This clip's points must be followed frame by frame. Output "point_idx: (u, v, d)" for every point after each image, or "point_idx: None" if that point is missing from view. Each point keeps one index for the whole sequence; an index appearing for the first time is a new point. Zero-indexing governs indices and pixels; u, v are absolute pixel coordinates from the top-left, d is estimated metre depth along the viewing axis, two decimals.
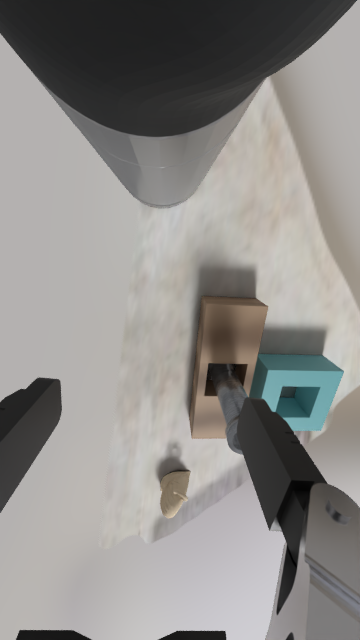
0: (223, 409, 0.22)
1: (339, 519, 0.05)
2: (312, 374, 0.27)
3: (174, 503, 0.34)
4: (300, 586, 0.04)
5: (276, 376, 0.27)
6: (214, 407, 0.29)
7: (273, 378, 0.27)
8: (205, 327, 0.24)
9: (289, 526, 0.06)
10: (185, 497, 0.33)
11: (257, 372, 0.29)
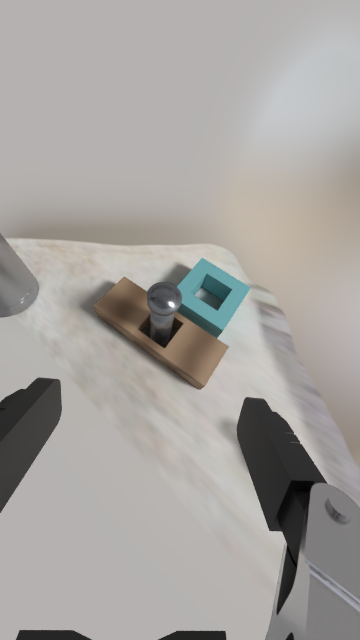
0: (154, 318, 0.27)
1: (339, 519, 0.05)
2: (191, 273, 0.36)
3: None
4: (300, 586, 0.04)
5: None
6: (180, 347, 0.31)
7: None
8: (108, 315, 0.32)
9: (289, 526, 0.06)
10: None
11: (178, 309, 0.36)
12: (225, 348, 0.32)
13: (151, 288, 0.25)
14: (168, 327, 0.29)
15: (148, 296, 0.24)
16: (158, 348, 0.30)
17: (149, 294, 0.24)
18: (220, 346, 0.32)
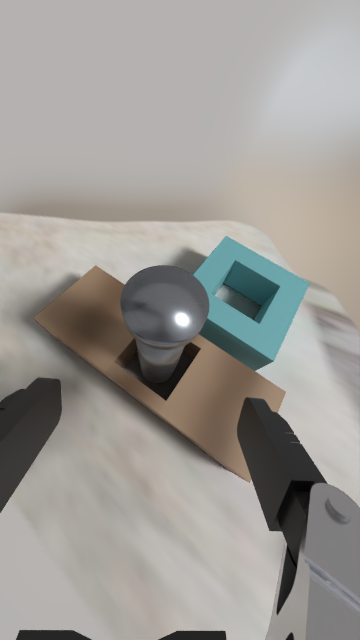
0: (143, 348, 0.12)
1: (339, 519, 0.05)
2: (211, 260, 0.22)
3: None
4: (300, 586, 0.04)
5: None
6: (197, 397, 0.16)
7: None
8: (59, 335, 0.17)
9: (289, 526, 0.06)
10: None
11: None
12: (280, 396, 0.17)
13: (133, 280, 0.10)
14: (174, 362, 0.14)
15: (124, 300, 0.09)
16: (154, 400, 0.16)
17: (127, 295, 0.10)
18: (271, 391, 0.17)
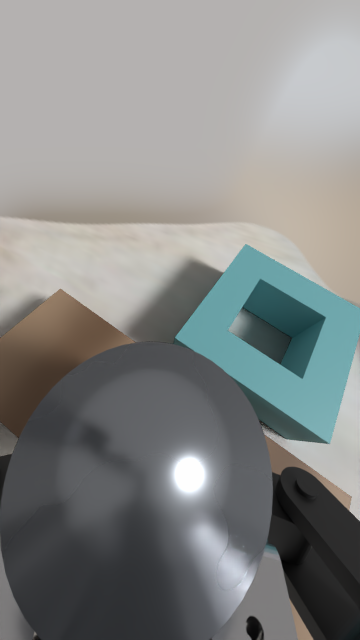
0: None
1: None
2: (226, 279, 0.15)
3: None
4: None
5: (198, 331, 0.13)
6: None
7: (198, 337, 0.13)
8: None
9: None
10: None
11: None
12: (344, 505, 0.11)
13: (57, 397, 0.04)
14: None
15: (18, 478, 0.03)
16: None
17: (31, 456, 0.03)
18: None
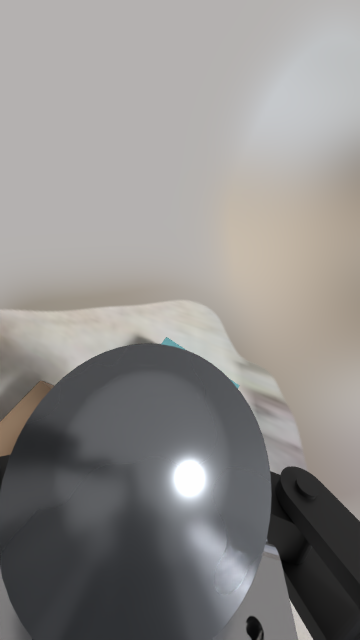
0: None
1: None
2: None
3: None
4: None
5: None
6: None
7: None
8: None
9: None
10: None
11: None
12: None
13: (55, 399, 0.04)
14: None
15: (15, 482, 0.03)
16: None
17: (28, 459, 0.03)
18: None
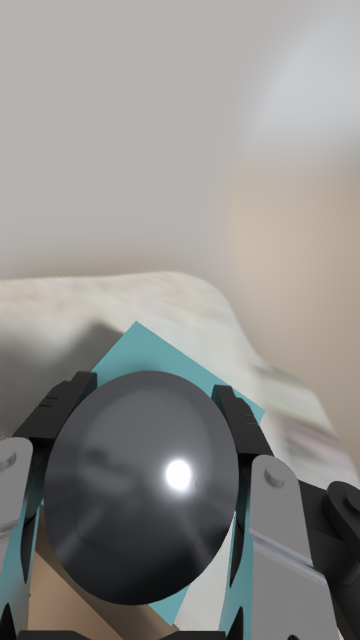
0: None
1: (272, 483, 0.06)
2: (97, 374, 0.13)
3: None
4: (246, 559, 0.04)
5: None
6: None
7: None
8: None
9: (238, 495, 0.06)
10: None
11: None
12: None
13: (79, 415, 0.05)
14: None
15: (54, 476, 0.04)
16: None
17: (62, 460, 0.04)
18: None
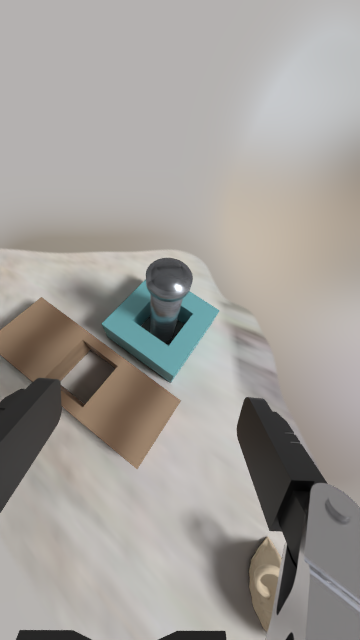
0: (155, 306, 0.21)
1: (339, 519, 0.05)
2: (138, 291, 0.27)
3: None
4: (300, 586, 0.04)
5: (115, 320, 0.24)
6: (107, 404, 0.21)
7: (114, 323, 0.24)
8: (5, 356, 0.22)
9: (289, 526, 0.06)
10: (269, 567, 0.16)
11: (118, 341, 0.26)
12: (175, 403, 0.22)
13: (151, 265, 0.19)
14: (173, 319, 0.23)
15: (148, 275, 0.18)
16: (73, 407, 0.21)
17: (149, 273, 0.18)
18: (169, 400, 0.22)
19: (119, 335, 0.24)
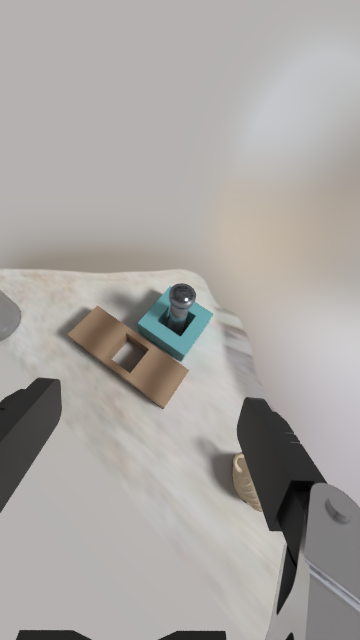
0: (173, 311, 0.34)
1: (339, 519, 0.05)
2: (159, 301, 0.40)
3: (248, 478, 0.29)
4: (300, 586, 0.04)
5: (146, 320, 0.38)
6: (144, 372, 0.35)
7: (145, 322, 0.38)
8: (80, 343, 0.35)
9: (289, 526, 0.06)
10: (241, 454, 0.30)
11: (146, 334, 0.40)
12: (185, 372, 0.35)
13: (172, 288, 0.32)
14: (183, 319, 0.37)
15: (170, 294, 0.32)
16: (124, 373, 0.34)
17: (171, 293, 0.32)
18: (181, 369, 0.36)
19: (149, 330, 0.37)
